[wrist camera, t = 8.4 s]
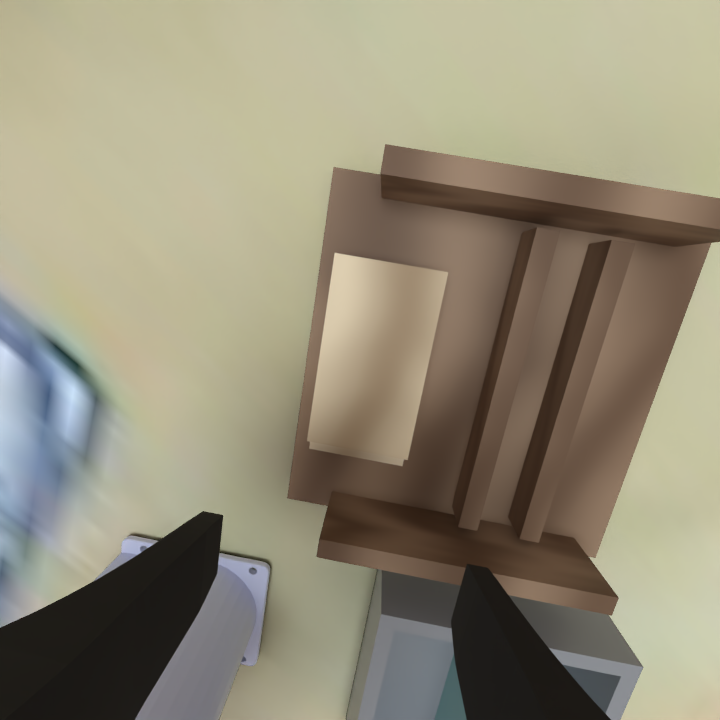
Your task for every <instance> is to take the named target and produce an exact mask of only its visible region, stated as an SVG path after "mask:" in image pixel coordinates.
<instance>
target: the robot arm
mask: <svg viewBox="0 0 720 720" xmlns="http://www.w3.org/2000/svg"><path fill="white" fill-rule="evenodd" d="M222 521H223V515H219V514H214V513H209V512H204V511H203V512H201V513H200V514H198V515H197V516H195V517H193V518H192V519H190V520H189V521H187V522H186V523H185V524H183V525H182V526H180V527H179V528H177V529H176V530H174V531H173V532H171V533H170V534H168V535H167V536H165V537H164V538H162V539H161V540H159V541H157V540H152V539H147V538H142V537H137V536H127V537H126V538H125V539H124V540H123V541H122V548H121V553H120V554H119V555H118V557H117V558H116V559H115V560H114V561H113V562H112V563H111V564H110V565H109V566H108V567H107V568H106V569H105V570H104V571H103V572H102V573H101V574H100V575H99V576H98V577H97V578H96V579H95V580H94V581H93V582H92V583H90V584H88V585H86V586H84V587H83V588H81V589H79V590H77V591H75V592H73V593H72V594H70V595H68V596H66V597H64V598H62V599H60V600H58V601H56V602H54V603H52V604H50V605H48V606H46V607H44V608H42V609H40V610H38V611H36V612H34V613H32V614H30V615H27V616H25V617H23V618H21V619H19V620H16V621H14V622H12V623H10V624H8V625H5V626H3V627H1V628H0V720H219V719H220V716H221V713H222V711H223V708H224V705H225V703H226V700H227V697H228V695H229V692H230V690H231V687H232V684H233V682H234V679H235V676H236V674H237V671H238V668H239V666H240V664H242V665H247V666H253V665H255V664H256V663H257V660H258V657H259V650H260V643H261V636H262V628H263V621H264V613H265V606H266V598H267V591H268V584H269V576H270V566H269V565H268V564H267V563H265V562H262V561H257V560H252V559H247V558H242V557H237V556H232V555H227V554H222V553H219V551H220V541H221V531H222ZM145 546H146V547H147V548H146V547H145ZM252 568H255V569H256V570H254V569H252ZM451 628H452V639H453V648H454V657H455V665H456V670H457V675H458V680H459V685H460V690H461V695H462V700H463V705H464V709H465V714H466V719H467V720H611V719H610V718H609V717H608V716H607V715H606V714H605V713H604V712H603V710H602V709H601V708H600V707H599V706H598V705H597V704H596V703H595V702H594V701H593V700H592V699H591V697H590V696H589V695H588V694H587V693H586V692H585V691H584V690H583V688H582V687H581V686H580V685H579V684H578V683H577V681H576V680H575V679H574V678H573V677H572V675H571V674H570V673H569V672H568V671H567V669H566V668H565V667H564V666H563V665H562V664H561V662H560V661H559V660H558V659H557V658H556V656H555V655H554V654H553V653H552V651H551V650H550V649H549V648H548V646H547V645H546V644H545V643H544V641H543V640H542V639H541V638H540V636H539V635H538V634H537V632H536V631H535V630H534V629H533V627H532V626H531V625H530V623H529V622H528V621H527V619H526V618H525V617H524V615H523V614H522V613H521V611H520V610H519V609H518V607H517V606H516V605H515V603H514V602H513V601H512V599H511V598H510V597H509V595H508V594H507V592H506V591H505V590H504V588H503V587H502V586H501V584H500V583H499V582H498V580H497V579H496V577H495V576H494V575H493V573H492V572H491V571H490V570H489V568H487V567H482V566H477V565H471V564H467V565H466V569H465V572H464V576H463V579H462V583H461V587H460V590H459V594H458V597H457V601H456V604H455V608H454V612H453V615H452V619H451Z"/></svg>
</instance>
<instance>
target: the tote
mask: <svg viewBox="0 0 720 720" xmlns="http://www.w3.org/2000/svg"><path fill="white" fill-rule="evenodd" d="M460 587H461V586H460V585H455V584H450V583H445V582H440V581H435V580H430V579H425V578H420V577H415V576H410V575H405V574H400V573H395V572H390V571H384V570H379V569H377V574H376V579H375V583H374V588H373V593H372V598H371V602H370V607H369V612H368V616H367V621H366V626H365V630H364V635H363V640H362V644H361V649H360V654H359V659H358V663H357V668H356V673H355V677H354V682H353V687H352V691H351V696H350V701H349V706H348V710H347V715H346V720H434V719H435V716H436V713H437V709H438V706H439V702H440V699H441V696H442V692H443V689H444V685H445V682H446V678H447V675H448V672H449V668H450V665H451V661H452V658H453V655H454V648H453V639H452V628H451V619H452V615H453V612H454V608H455V604H456V601H457V597H458V594H459V590H460ZM509 597H510V598H511V599H512V601H513V602H514V603H515V605H516V606H517V607H518V609H519V610H520V611H521V613H522V614H523V615H524V617H525V618H526V619H527V621H528V622H529V623H530V625H531V626H532V627H533V629H534V630H535V631H536V632H537V634H538V635H539V636H540V638H541V639H542V640H543V641H544V643H545V644H546V645H547V646H548V648H549V649H550V650H551V651H552V653H553V654H554V655H555V656H556V658H557V659H558V660H559V661H560V662H561V664H562V665H563V666H564V667H565V668H566V669H567V671H568V672H569V673H570V674H571V675H572V677H573V678H574V679H575V680H576V681H577V683H578V684H579V685H580V686H581V687H582V688H583V690H584V691H585V692H586V693H587V694H588V695H589V696H590V697H591V699H592V700H593V701H594V702H595V703H596V704H597V705H598V706H599V707H600V708H601V709H602V710H603V712H604V713H605V714H606V715H607V716H608V717H609V718H610V719H611V720H620V719H621V717H622V715H623V712H624V710H625V708H626V705H627V703H628V701H629V699H630V696H631V694H632V692H633V690H634V687H635V685H636V683H637V680H638V678H639V676H640V674H641V671H642V669H643V666H642V665H641V663H640V662H639V660H638V659H637V657H636V656H635V654H634V653H633V651H632V650H631V648H630V647H629V645H628V644H627V642H626V641H625V639H624V638H623V636H622V635H621V633H620V632H619V630H618V629H617V627H616V626H615V624H614V623H613V621H612V620H611V618H610V617H609V615H606V614H601V613H596V612H591V611H586V610H581V609H576V608H571V607H566V606H561V605H556V604H551V603H546V602H541V601H536V600H531V599H526V598H521V597H516V596H511V595H509Z"/></svg>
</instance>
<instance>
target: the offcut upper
mask: <svg viewBox="0 0 720 720" xmlns="http://www.w3.org/2000/svg"><path fill="white" fill-rule="evenodd" d="M447 276H448V272H444V271H438V270H432V269H426V268H420V267H415V266H409V265H403V264H397V263H391V262H386V261H380V260H374V259H368V258H362V257H357V256H351V255H345V254H339V253H335V254H334V261H333V268H332V274H331V281H330V288H329V295H328V302H327V308H326V315H325V322H324V329H323V335H322V342H321V349H320V356H319V362H318V369H317V376H316V383H315V390H314V396H313V403H312V410H311V417H310V423H309V430H308V437H307V441H309V442H315V443H320V444H325V445H330V446H336V447H341V448H346V449H352V450H357V451H362V452H368V453H373V454H378V455H383V456H389V457H394V458H399V459H405V460H408V456H409V451H410V447H411V442H412V437H413V433H414V428H415V424H416V419H417V414H418V410H419V405H420V401H421V396H422V391H423V387H424V382H425V378H426V373H427V368H428V364H429V359H430V355H431V350H432V345H433V341H434V336H435V332H436V327H437V322H438V318H439V313H440V309H441V304H442V299H443V295H444V290H445V286H446V281H447Z"/></svg>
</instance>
